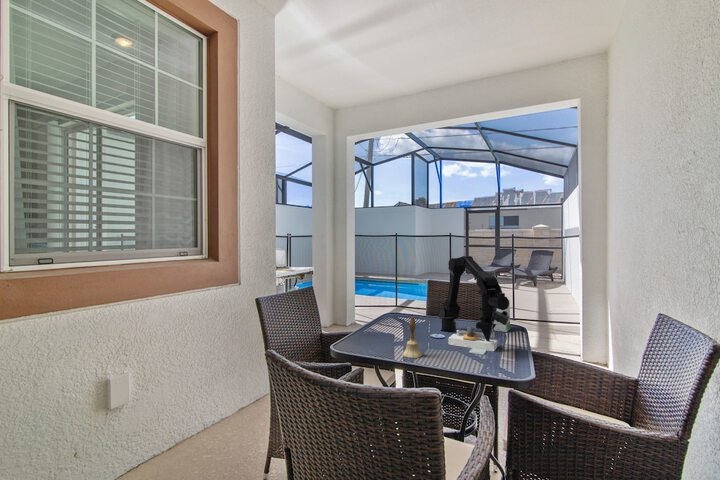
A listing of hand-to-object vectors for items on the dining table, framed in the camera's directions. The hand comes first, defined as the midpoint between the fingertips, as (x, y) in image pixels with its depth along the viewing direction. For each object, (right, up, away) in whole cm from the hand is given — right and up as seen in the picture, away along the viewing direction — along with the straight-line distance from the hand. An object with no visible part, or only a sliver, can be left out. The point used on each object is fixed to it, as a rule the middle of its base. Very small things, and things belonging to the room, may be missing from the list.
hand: (487, 341), depth 152 cm
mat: (-5, -4, -1) cm, 6 cm away
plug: (-5, -4, +8) cm, 10 cm away
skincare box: (+19, -4, +33) cm, 38 cm away
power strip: (-5, -4, +8) cm, 10 cm away
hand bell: (-34, -5, -4) cm, 34 cm away
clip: (-3, 0, +9) cm, 9 cm away
